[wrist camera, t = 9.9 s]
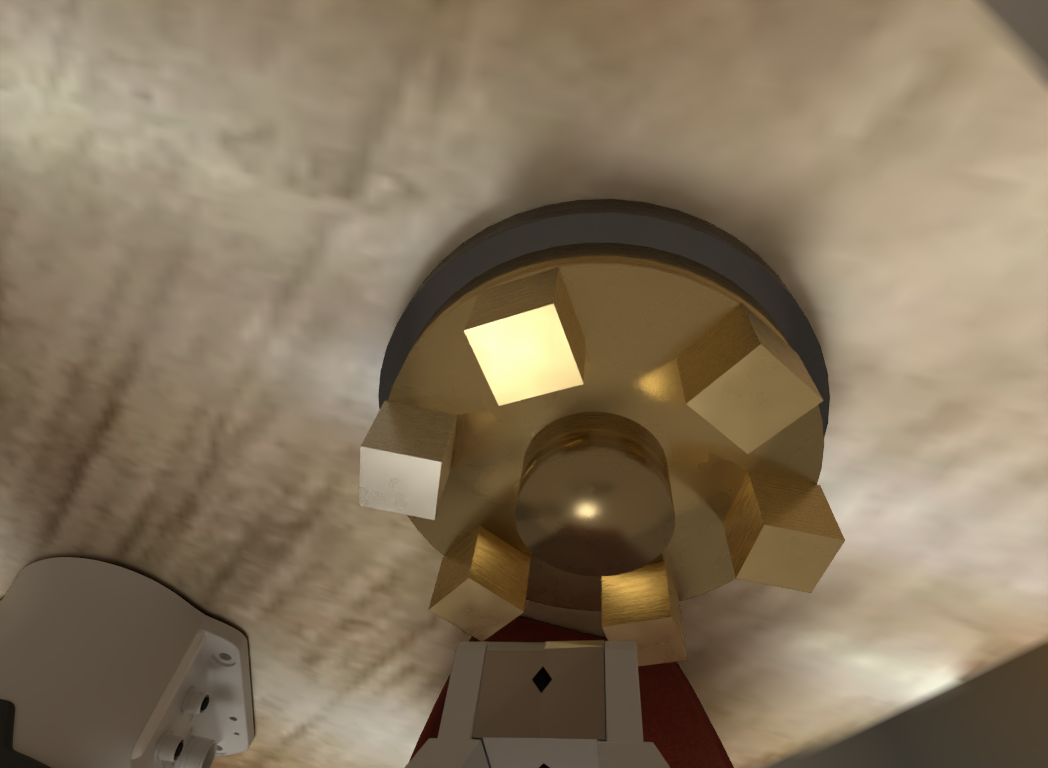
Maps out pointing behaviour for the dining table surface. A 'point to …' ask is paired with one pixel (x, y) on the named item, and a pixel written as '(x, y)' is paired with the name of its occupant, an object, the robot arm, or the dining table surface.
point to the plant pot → (663, 696)
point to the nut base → (608, 226)
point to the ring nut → (603, 444)
